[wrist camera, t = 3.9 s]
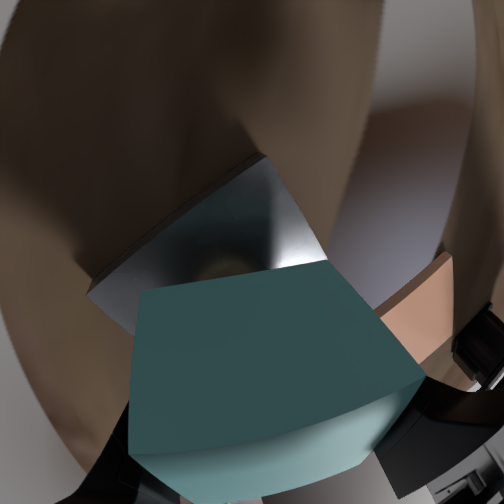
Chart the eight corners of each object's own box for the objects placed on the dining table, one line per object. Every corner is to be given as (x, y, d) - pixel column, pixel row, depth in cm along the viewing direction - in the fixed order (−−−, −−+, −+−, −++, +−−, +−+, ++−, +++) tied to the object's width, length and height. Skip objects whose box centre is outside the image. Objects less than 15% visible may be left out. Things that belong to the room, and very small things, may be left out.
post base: (258, 151, 10) (337, 192, 5) (342, 295, 15) (403, 373, 10) (92, 279, 11) (54, 387, 6) (211, 376, 16) (230, 465, 10)
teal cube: (326, 259, 9) (427, 374, 5) (311, 371, 12) (359, 464, 7) (140, 290, 8) (128, 454, 3) (182, 398, 11) (198, 506, 6)
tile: (444, 250, 16) (452, 256, 15) (447, 329, 21) (452, 334, 21) (316, 349, 17) (321, 358, 16) (357, 399, 22) (361, 405, 21)
